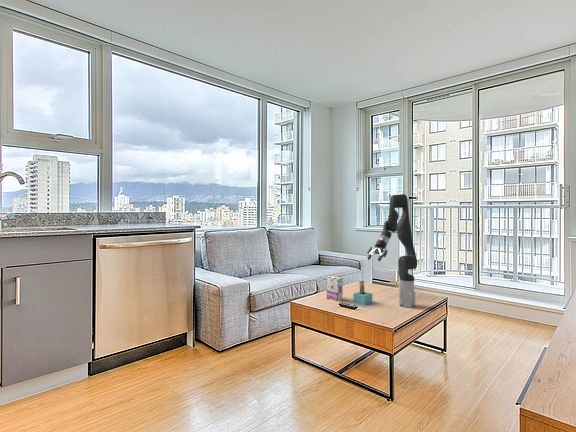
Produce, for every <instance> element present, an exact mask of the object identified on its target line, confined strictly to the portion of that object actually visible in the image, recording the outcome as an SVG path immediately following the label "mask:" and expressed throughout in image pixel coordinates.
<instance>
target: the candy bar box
mask: <svg viewBox="0 0 576 432" xmlns="http://www.w3.org/2000/svg"><path fill="white" fill-rule="evenodd" d="M343 282H344V281H343V277H339V276H334V275H328V276H326V300H333V301H335V302H341V301H343V295H344V294H343V288H344V287H343Z"/></svg>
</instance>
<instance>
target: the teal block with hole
mask: <svg viewBox="0 0 576 432" xmlns="http://www.w3.org/2000/svg"><path fill="white" fill-rule="evenodd" d="M364 292H365V295H362V294H360V290H359V291H356V292H353V296H352V297H353V299H352V301H353V302H355V303H359V304H363V305H366V304H369V303H372V301H373V293H371V292H367V291H364Z"/></svg>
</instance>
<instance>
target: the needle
mask: <svg viewBox="0 0 576 432" xmlns="http://www.w3.org/2000/svg"><path fill="white" fill-rule="evenodd" d="M358 281H359V280H358ZM358 286H359V291H360V294H362V295H365V292H366V291H365V281H364V280H360V281H359V285H358Z"/></svg>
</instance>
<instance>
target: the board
mask: <svg viewBox="0 0 576 432" xmlns="http://www.w3.org/2000/svg"><path fill="white" fill-rule="evenodd" d="M348 304H350V305H354V306H358V307H361V308H368V307H372V306H374V305H377V304H379V302H378V301H373V300H372V303H369V304H366V305H363V304H359V303H355V302H353V300H352V301H349V302H348Z"/></svg>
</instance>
